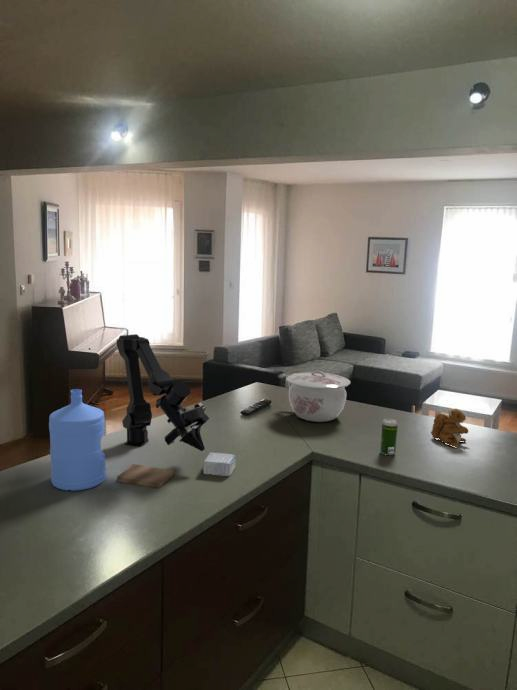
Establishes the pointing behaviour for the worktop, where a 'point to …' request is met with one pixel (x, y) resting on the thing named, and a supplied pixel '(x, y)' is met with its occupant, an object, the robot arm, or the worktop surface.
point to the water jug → (77, 445)
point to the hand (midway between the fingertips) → (203, 450)
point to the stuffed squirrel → (449, 427)
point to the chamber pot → (317, 395)
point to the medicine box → (219, 464)
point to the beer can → (388, 437)
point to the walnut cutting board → (145, 475)
